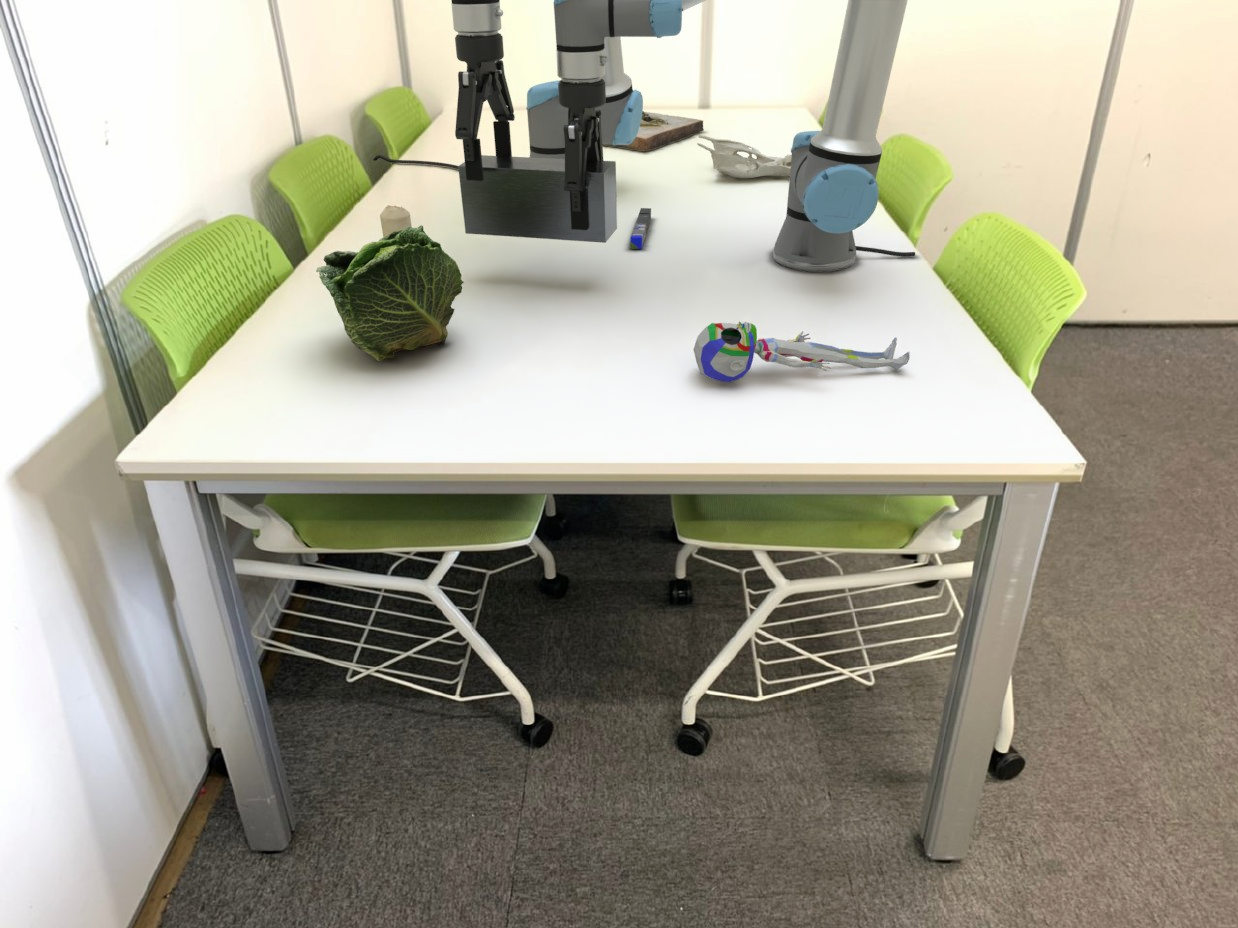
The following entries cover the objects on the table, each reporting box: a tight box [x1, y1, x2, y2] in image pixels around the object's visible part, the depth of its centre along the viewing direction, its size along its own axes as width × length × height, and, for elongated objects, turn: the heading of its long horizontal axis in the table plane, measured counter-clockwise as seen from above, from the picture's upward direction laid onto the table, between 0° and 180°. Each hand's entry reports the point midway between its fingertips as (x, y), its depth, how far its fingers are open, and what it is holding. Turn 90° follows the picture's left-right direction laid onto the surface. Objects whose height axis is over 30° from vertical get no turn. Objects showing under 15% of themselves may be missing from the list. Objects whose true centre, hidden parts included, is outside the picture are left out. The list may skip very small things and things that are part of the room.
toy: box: [692, 321, 911, 383], centre depth 128 cm, size 10×8×30 cm
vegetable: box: [315, 224, 465, 362], centre depth 134 cm, size 20×19×20 cm
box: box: [457, 154, 618, 244], centre depth 154 cm, size 25×8×12 cm, turn 76°
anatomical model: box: [696, 134, 792, 179], centre depth 218 cm, size 15×9×25 cm
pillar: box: [630, 207, 652, 250], centre depth 183 cm, size 2×2×20 cm
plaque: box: [602, 110, 705, 152], centre depth 257 cm, size 30×7×30 cm
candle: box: [379, 205, 412, 238], centre depth 170 cm, size 6×6×10 cm
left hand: (490, 170), depth 153 cm, fingers open, 13 cm apart
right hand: (586, 221), depth 154 cm, fingers closed on box, 8 cm apart
